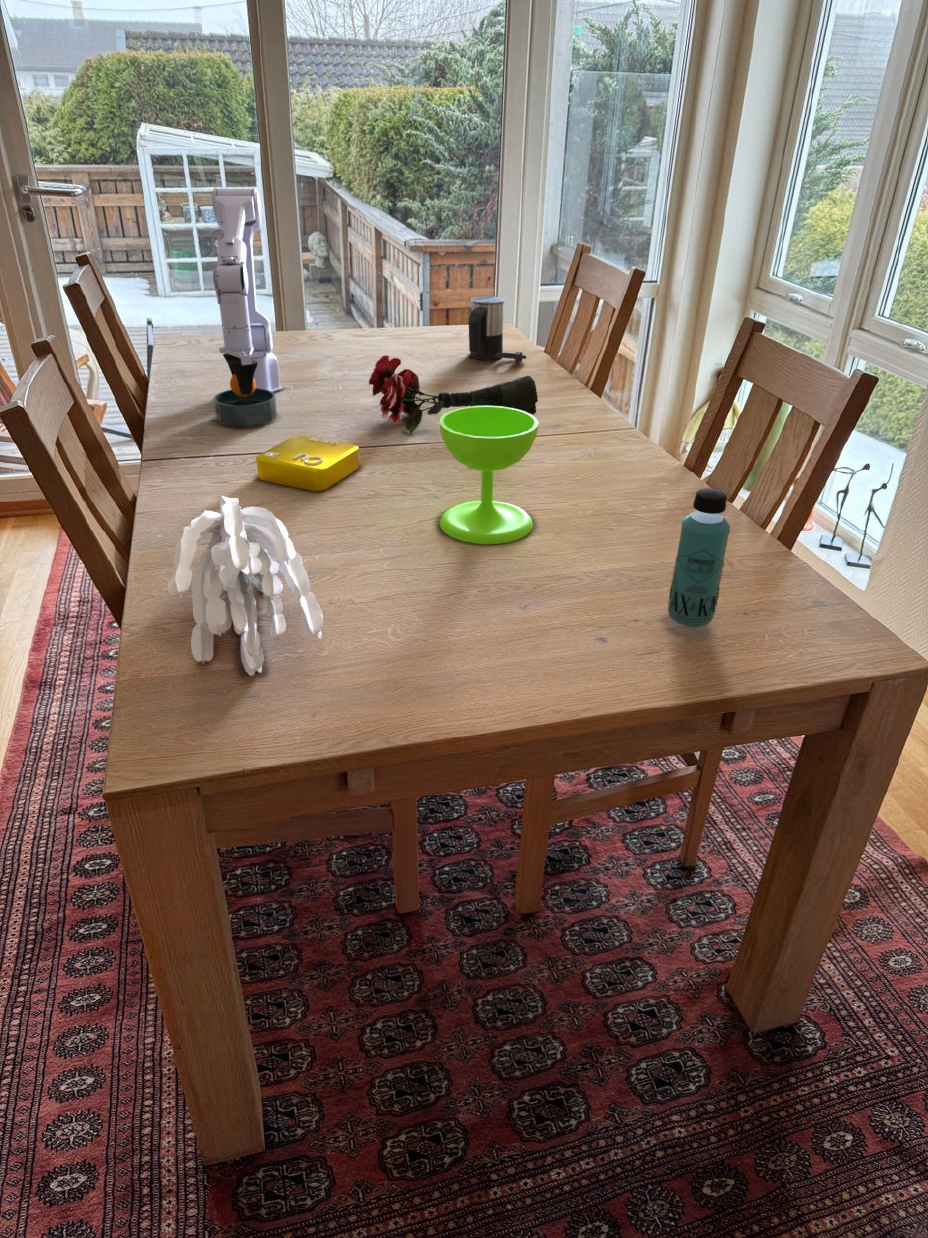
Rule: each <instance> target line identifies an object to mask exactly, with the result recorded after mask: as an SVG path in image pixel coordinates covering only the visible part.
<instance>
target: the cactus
mask: <svg viewBox="0 0 928 1238" xmlns="http://www.w3.org/2000/svg"><path fill="white" fill-rule="evenodd" d="M239 501H240V499H239V498H238V497H227V496H225V495H222V494H221V495H220V497H219V512H216V511H212V510H206V509H205V510H204V511H203V513H202V514H201V515H200V516H197V517H195V518H194V519H192V520H190V524H189V525H188V526H184V527H183V528H182V535H181V536H180V538H179V539H178V540H177V542H176V544H175V552H174V557H173V567H174V570H175V572H174V574H173V575H172V577H171V579H170V581H169V582H168V584H166V587H167V591H168V594H169V595H170V596H176V595H178V597H179V598H180V600H183V594H184V593H185V592H187V591H188V590H189V588H190V587H191V588H190V589H191V592H192V599H191V600H192V601H191V602H192V618H193V620H194V622H195V623H196V624H195V625H194V627H193V629H192V631H191V639H190V649H191V656H192V657H193V659H194V660H195V662H197V663H198V662H201V663H202V665H204V664H205V662H210V661H211V660H212V659H213V657H214V649H215V648H214V647H215V646H214V641H215V640H214V639H215V638H214V635H217V636H219V637H221V636H222V634H224V635H225V634H226V632H227V631H228V630H230V629H231V627H232V624H233V629H234V632H235V634H237V635H240V647H239V648H240V660H241V662H242V663H241V664H242V665H243V668H244V671H245V673H247V674H248V676H250V677H251V676H252V677H253V676H254V675H255V674H256V672H257V673H259V674H262V672H263V671H262V670H263V664H264V661H265V656H264V653H263V647H262V645H261V634H260V632H259V630H257V629H258V624H257V623H258V610H257V601H256V598H255V595H254V591H253V587H252V585H251V584H253V585H254V587H255V588H256V589H257V590H258V591H259V592H261V593H263V595H262V599H263V601H264V603H265V608H266V611H267V614H269V615H270V617H271V621H270V623H269V635H270V638H273V639H274V638H277V637H278V639H279V640H281V639H282V635H283V634H284V633H285V631H286V629H287V622H286V618H285V616H284V614H282V612H283V611H284V610H283V609H284V607H283V603H284V602H283V600H282V599H281V594H282V593H283V590H284V585H283V582H282V580H281V579H280V578H279V577H278V576H277V574H278V572H279V573H280V574H281V575H282V576H283V578H284V581H285V583H286V586H287V588H288V589H289V591H290V593H291V594H292V595H293V596H294V597H295V598H297V599H298V601H299V605H300V608H299V616H300V621H301V629H302V632H303V634H304V636H305V637H306V639H307V640H309V641H312V640H313V638H314V637H315V636H316V637H317V638H318V639H320V640H321V639H322V635H323V634H322V628H323V623H324V616H323V612H322V611H323V610H322V609H321V607H320V605H319V602H318V600H317V597H316V596H315V594H314V593H313V592H311V591H310V590H311V589H312V585H311V581H310V578H309V574H308V571H307V569H306V568H305V567H304V563H303V558H302V555H300V553H299V552H297V551H296V550H295V547H294V543H293V541H292V540H291V539H290V537H289V532H288V530H287V527H286V526H285V525H284V523H283V521H282V520H281V519H279V518H276V516H275V515H274V513H273V512H272V511H271V510H268V508H266V507H261V506H246V507H244V508H242V507H241V505H240V504H239ZM208 534H212V535H211V538H210V541H209V542H208V545H207V547H206V548H205V550H204V552H202V554H201V555H200V557H199V559H198V561H197V563H196V564H195V577H194V578H193V576H194V575H193V571H192V570H191V565H192V564H193V562H194V560H195V557H196V554H197V550H198V543H200V541H201V540H204V539H206V537H207V535H208ZM192 578H193V579H192Z"/></svg>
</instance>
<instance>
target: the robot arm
mask: <svg viewBox="0 0 928 1238" xmlns="http://www.w3.org/2000/svg"><path fill="white" fill-rule="evenodd" d="M211 206H212V212H213V216H214V217H215V220H216V223H217V225H218V227H219V229H220V230H221V231H223V238H221V239H220V241H219V242H218V244H217V261H216V262H217V263H216V267H214V268H213V269H212V281H213V282H212V283H213V287H214V291H215V295H216V301H217V304H218V305H219V312H220V320H221V321H220V322H221V327H222V329H221V330H222V335H223V344H224V345H223V347H219V348H218V351H219V353H221V354H222V356H223V358H224V360H225V361H226V364H227V365H228V367H229V370H230V374H231V377H232V376H233V375H234V374H235V375H236V378H237V381H238V385H239V389H240V391H241V394H242V395H244V394H251V393H252V387H253V377H254V379H255V382H256V388H260V389H265V390H269V391H271V392H273V393H276V392H278V391H280V390H283V389H284V387H283V386H282V385H281V381H280V369H279V361H278V359H277V356H276V355H275V354H274V353H273V352H272V351H273V334H272V333H273V332H272V327H271V321H270V319H269V318H268V316H267V315H265V314H264V313H262V312H261V311H260V310H258V302H257V290H256V278H255V277H256V276H255V261H254V260H255V259H254V249H253V248H254V247H253V242H254V237H255V233H258V232H259V231H261V229H262V208H261V207H262V205H261V197H260V192H259V190H258V189H257V188H256V187H253V188H218V187H214V188H213V190H212V191H211ZM251 324H256V325H251ZM258 324H259V325H258Z"/></svg>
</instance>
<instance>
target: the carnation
mask: <svg viewBox="0 0 928 1238" xmlns="http://www.w3.org/2000/svg"><path fill="white" fill-rule="evenodd" d="M401 364H402V360H401V359H400V358H398V357H393V358H391V359H390V356H389V355H387V354H386V355H382V356H381V357H380V358H379V359H378V360H377V361H376V363H375V365H374V368H373V371H372V373H371V375H370V377H369V379H368V385H369V386H370V385H372V396H373V397H375V396H376V395H379V394H382V395H383V396H382V397H381V399H380V401H379V404H378V405H379V406H380V410H379V411H380V412H381V418H382V419H384V420H385V419H386V420H387V421H389V423H391V424H396V423H398V424H401V414H402V413H403V414H406V415H407V416H408V417H407V418H406V421H405V423H404V430H405V432H406V433H407V434H409V435H412V434H413V432H414V431H415V430H417V428H418V427H419V425H420V423H421V421H422V419H423V412H425V411H427V412H426V414H427V415H430V416H431V415H437V414H439V413H441V411H442V409H449V408H450V407H451V408H464V407H471V406H502V407H509V408H515V409H518V410H522V411H525V412H527V413H530V414H532V415H533V416H534V415H535V414H536V413H537V406H536V404H537V403H538V402H539V398H538V391H537V384H536V381H535V379H534V378H533V377H532V376H531V375H526V376H525V375H524V376H521V377H516V378H515V379H511V380H508V381H505V382H500V383H497V384H495V385H491V386H485V387H482V388H479V389H475V390H470V391H461V392H459V391H458V392H451V393H449V392H447V391H446V392H439V393H438V395H432V394H428V393H425V392H422V391H421V389H420V388H421V387H420V379H419V376H418V375H417V374H416V373H415V372H414V371H412V370H411V369H410V368H409V369H408V368H404V369H403V370H401V371H400V372H398V373H395V372H396V370H397V368H398V367H399V366H401ZM421 396H426V397H430V398H421ZM430 400H431V401H430ZM436 400H437V401H436ZM417 402H419V403H417ZM425 403H429V404H433V405H432V406H430V407H428V408H424V409H421V407H422V405H423V404H425ZM389 413H390V415H389ZM388 415H389V416H388Z"/></svg>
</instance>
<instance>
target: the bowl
mask: <svg viewBox="0 0 928 1238" xmlns="http://www.w3.org/2000/svg"><path fill="white" fill-rule="evenodd" d="M212 399H213V406H214V413H215V415H214V416H215V419H216V421H217V422H219V423H220V424H223V425H226V426H230V427H235V428H250V427H257V426H261V425H264V424H267V423H269V422H271V421H273V420H274V419H276V418H277V416H278V410H277V402H276V401H277V400H276V399H277V398H276V394H275V392H271V391H269V390H265V389H260V388H255V391H254V392H253V393H252V394H251V395H250V396H248V397H240V396H237V395H236V394H235V393H234V392H233V391H232V389H228V390H224V391H220V392H219V393H217V394H215V395H214V397H213V398H212Z"/></svg>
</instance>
